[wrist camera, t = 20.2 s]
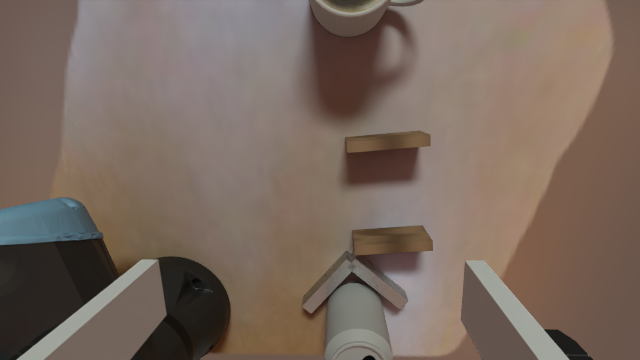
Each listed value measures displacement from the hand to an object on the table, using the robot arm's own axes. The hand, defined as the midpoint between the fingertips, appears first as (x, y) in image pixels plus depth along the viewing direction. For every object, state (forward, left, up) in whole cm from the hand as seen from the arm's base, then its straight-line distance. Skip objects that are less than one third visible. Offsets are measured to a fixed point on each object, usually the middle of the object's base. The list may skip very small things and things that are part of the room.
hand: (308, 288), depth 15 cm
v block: (+2, -16, -29) cm, 33 cm away
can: (+2, -20, -30) cm, 36 cm away
